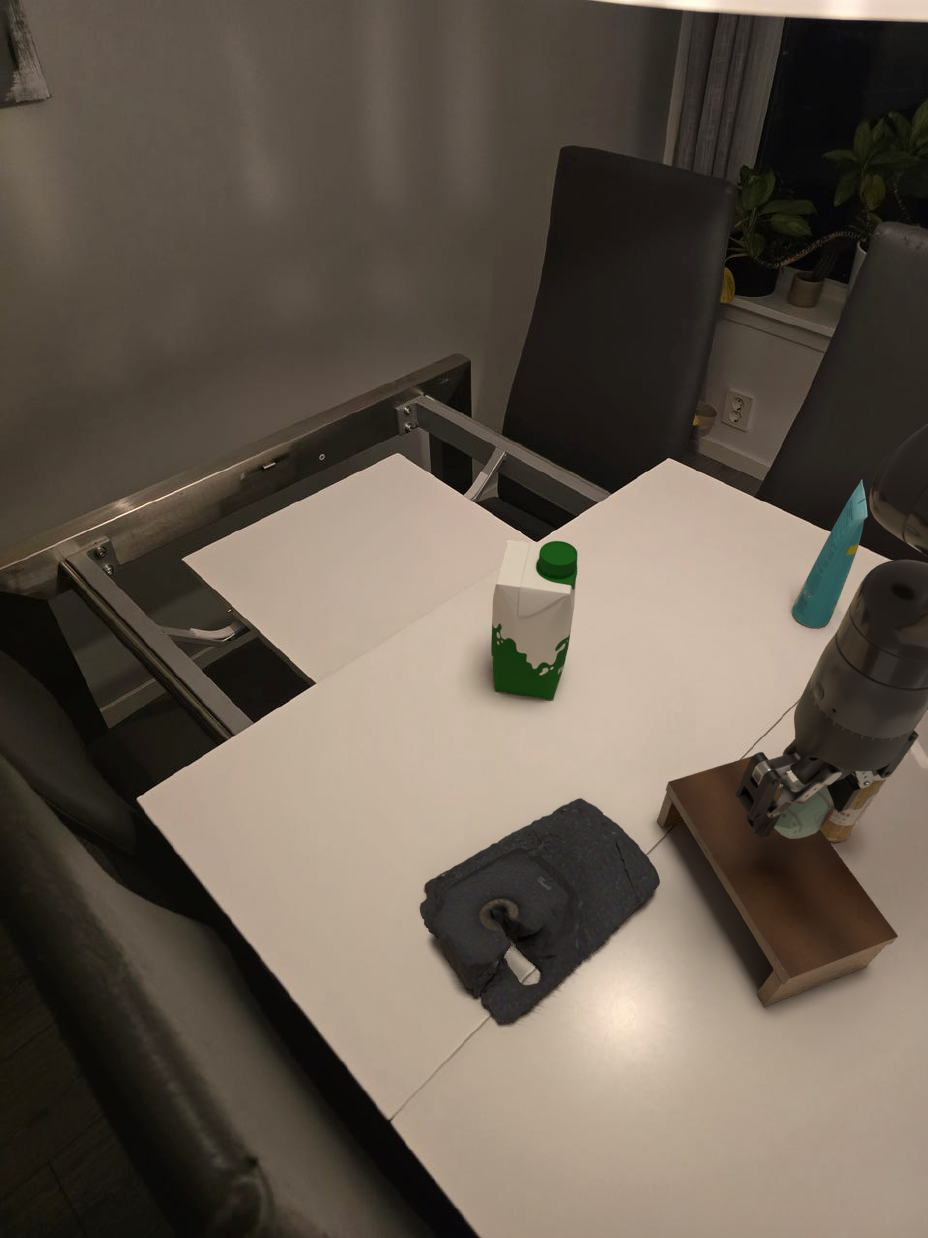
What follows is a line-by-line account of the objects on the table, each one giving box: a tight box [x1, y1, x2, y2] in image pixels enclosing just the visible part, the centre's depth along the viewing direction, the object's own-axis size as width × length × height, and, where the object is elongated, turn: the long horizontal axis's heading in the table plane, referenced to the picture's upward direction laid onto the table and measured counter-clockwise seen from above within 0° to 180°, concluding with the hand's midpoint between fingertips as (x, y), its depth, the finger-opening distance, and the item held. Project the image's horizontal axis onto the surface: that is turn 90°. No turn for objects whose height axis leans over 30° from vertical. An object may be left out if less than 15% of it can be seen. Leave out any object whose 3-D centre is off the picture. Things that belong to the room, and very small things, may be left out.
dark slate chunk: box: [419, 797, 661, 1023], centre depth 74 cm, size 15×22×5 cm
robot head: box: [774, 779, 834, 839], centre depth 67 cm, size 8×4×7 cm, turn 137°
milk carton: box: [490, 539, 579, 701], centre depth 90 cm, size 9×9×20 cm
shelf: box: [656, 754, 899, 1007], centre depth 75 cm, size 11×20×7 cm, turn 19°
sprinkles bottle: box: [820, 765, 899, 843], centre depth 77 cm, size 5×5×14 cm
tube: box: [791, 479, 868, 629], centre depth 97 cm, size 7×5×19 cm, turn 169°
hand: (796, 815), depth 67 cm, fingers closed on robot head, 7 cm apart
